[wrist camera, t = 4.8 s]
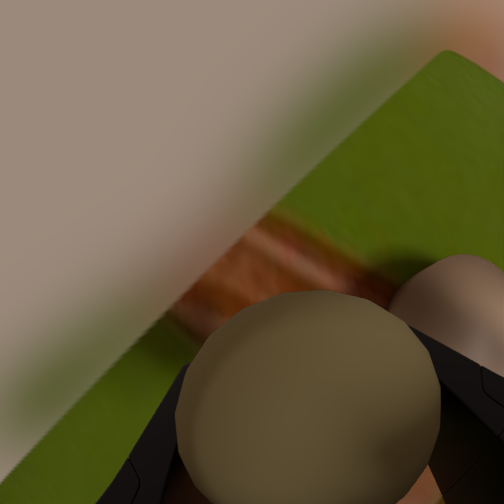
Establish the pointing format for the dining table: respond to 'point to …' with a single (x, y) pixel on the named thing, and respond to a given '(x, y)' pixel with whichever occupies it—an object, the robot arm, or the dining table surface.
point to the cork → (309, 404)
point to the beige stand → (458, 307)
